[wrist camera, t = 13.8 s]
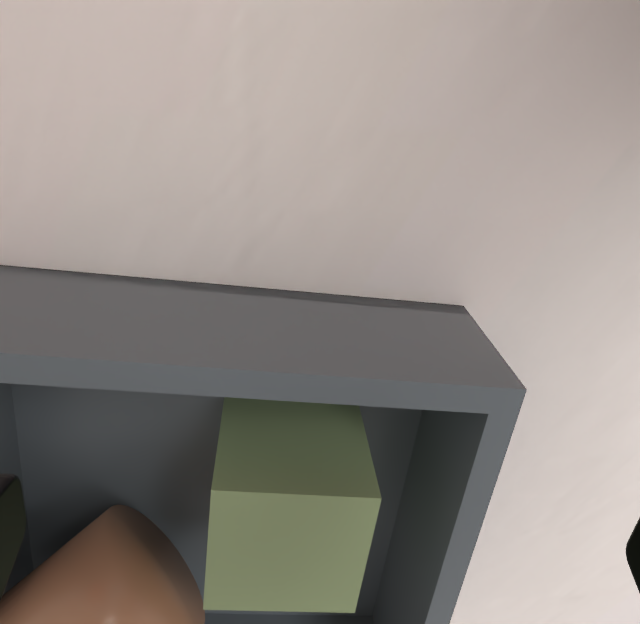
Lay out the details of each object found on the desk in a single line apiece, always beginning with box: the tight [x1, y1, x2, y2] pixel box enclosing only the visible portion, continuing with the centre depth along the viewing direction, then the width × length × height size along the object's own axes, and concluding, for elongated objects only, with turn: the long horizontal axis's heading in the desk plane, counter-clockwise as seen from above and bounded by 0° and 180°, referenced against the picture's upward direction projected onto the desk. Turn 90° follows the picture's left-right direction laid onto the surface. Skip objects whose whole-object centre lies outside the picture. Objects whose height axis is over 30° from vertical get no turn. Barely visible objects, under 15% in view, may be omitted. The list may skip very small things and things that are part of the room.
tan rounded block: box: [0, 505, 205, 624], centre depth 16 cm, size 4×4×4 cm
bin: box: [0, 265, 527, 624], centre depth 16 cm, size 13×13×4 cm
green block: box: [203, 397, 382, 613], centre depth 15 cm, size 4×4×4 cm
